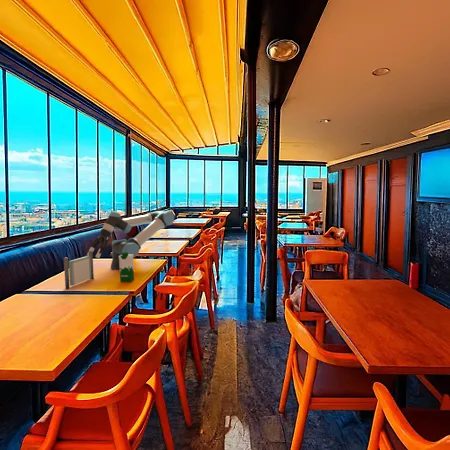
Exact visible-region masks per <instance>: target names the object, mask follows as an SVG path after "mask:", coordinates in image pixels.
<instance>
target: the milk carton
mask: <svg viewBox="0 0 450 450" xmlns="http://www.w3.org/2000/svg"><path fill="white" fill-rule="evenodd" d="M119 267H120V270H119V280H120V281H119V282H120V283H131V282H132V281H134V280H135V271H134V270H135V267H134V257H133V254H128V252H123V253H122V255H120V256H119Z"/></svg>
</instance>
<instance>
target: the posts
mask: <svg viewBox="0 0 450 450" xmlns="http://www.w3.org/2000/svg"><path fill="white" fill-rule="evenodd" d="M88 252H89V256H90V259H91V279H90V280H94V279H95V278H94V277H95V276H94V273H95V272H94V260H93V259H94V258H93V257H94V255H93V253H92V251H89V250H88ZM63 266H64V267H63V270H64V283H65V284H64V287H65V290H69V289H70V277H69V257H63Z"/></svg>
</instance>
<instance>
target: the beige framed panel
mask: <svg viewBox="0 0 450 450" xmlns="http://www.w3.org/2000/svg"><path fill="white" fill-rule="evenodd" d="M68 268H69V285H70V286H71V287H73V286H75V285H78V284H80V283H83V282H85V281H88V280H92V279H91V259H90V256H88V255H85V256H82V257H79V258H75V259H72V260H68Z"/></svg>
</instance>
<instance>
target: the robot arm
mask: <svg viewBox="0 0 450 450" xmlns="http://www.w3.org/2000/svg"><path fill="white" fill-rule="evenodd" d="M174 221H175V216H174V214H173V212H172V211H168V210H156V211H153V212H152V211H151V212H147V213H146V214H143V215H138V216H137V215H136V216H131V217H125V218H121V214H120V213H119V212H117V211H115V210H113V211H112V210H111V211H110V214H108V217H107V219H106V221H105V222H104V224H103V225H102V226H103V227H102V228H101V230H100V231H99V234H100V235H99V234H98V235H97V236H96V238H95V239H94V240H93V241H92V243H90V247H89V250H88V252H87V254H86V256H89V251H92V253H93V252H94V251H95V249H96V247H97V246H98V245H99V244H100V247H99V249H98V251H97V253H96V254H95V258H97V259H100V257H101V255H102V253H103V252H104V250H107V246H108V243H109V240H110V237H111V235H112V233H113V232H114V231H121V232H123V233H125V234H127V233H130V231H131V230H132V227H136V226H140V225H147V224H148V225H147V226H146V227H145V228H144V229H142V230H141V231H140V232H139V233H138V234H137V235H136V236H134V237H130V238H128V240H127V239H117V240H113V241H112V242H111V251H112V255H111V256H112V260H111V263H110V269H111V270H115V271H117V270H118V271H120V267H119V256H120V255H122V253H123V252H128V254H133V258H135V257H137V256H138V255H139V253H140V250H141V248H142V246H143V245H144V244H145V243H146V242H147V241H148V240H150V239H151V238H152V237H153V236H154V235H155V234H156V233H157V232H159V231H160V230H163V229H165V228H166V227H167V226H170V225H172V224H174Z"/></svg>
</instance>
